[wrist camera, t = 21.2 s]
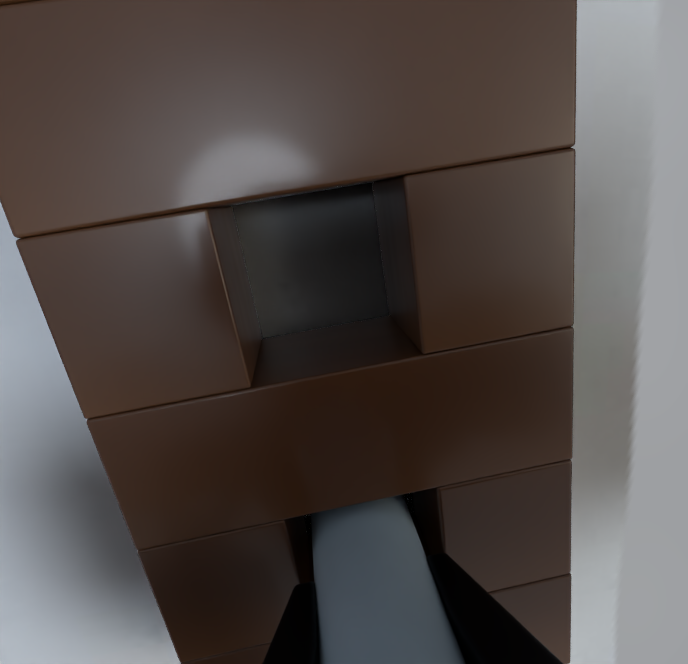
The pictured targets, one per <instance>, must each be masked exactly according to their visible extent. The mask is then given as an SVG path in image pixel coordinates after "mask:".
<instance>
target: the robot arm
mask: <svg viewBox="0 0 688 664" xmlns="http://www.w3.org/2000/svg"><path fill="white" fill-rule="evenodd" d="M427 561H428V564H429V567H430V570H431V572H432V575H433V578H434V580H435V583H436V586H437V588H438V591H439V594H440V596H441V599H442V602H443V604H444V607H445V610H446V612H447V615H448V618H449V620H450V623H451V625H452V628H453V631H454V633H455V636H456V638H457V641H458V643H459V646H460V649H461V651H462V654H463V657H464V659H465V662H466V664H563V663H562V662H561V661H560V660H559V659H558V658H557V657H556V656H555V655H554V654H553V653H552V652H551V651H550V650H549V649H548V648H546V647H545V646H544V645H543V644H542V643H541V642H540V641H539V640H538V639H537V638H536V637H535V636H534V635H533V634H532V633H531V632H529V631H528V630H527V629H526V628H525V627H524V626H523V625H522V624H521V623H520V622H519V621H518V620H517V619H516V618H515V617H514V616H513V615H511V614H510V613H509V612H508V611H507V610H506V609H505V608H504V607H503V606H502V605H501V604H500V603H499V602H498V601H497V600H496V599H494V598H493V597H492V596H491V595H490V594H489V593H488V592H487V591H486V590H485V589H484V588H483V587H482V586H481V585H480V584H479V583H477V582H476V581H475V580H474V579H473V578H472V577H471V576H470V575H469V574H468V573H467V572H466V571H465V570H464V569H463V568H462V567H460V566H459V565H458V564H457V563H456V562H455V561H454V560H453V559H452V558H451V557H450V556H449V555H448V554H446V553H444V552H442V553H437V554H433V555H429V556H428V557H427ZM262 664H319V641H318V624H317V606H316V589H315V583H314V582H313V581H310V582H306V583H301V584H297V585H296V586H295V587H294V589H293V591H292V593H291V596H290V598H289V600H288V603H287V605H286V608H285V610H284V612H283V615H282V617H281V620H280V622H279V625H278V627H277V629H276V632H275V634H274V637H273V639H272V641H271V644H270V646H269V649H268V651H267V653H266V656H265V658H264V661H263V663H262Z"/></svg>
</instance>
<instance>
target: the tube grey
mask: <svg viewBox="0 0 688 664" xmlns="http://www.w3.org/2000/svg"><path fill="white" fill-rule="evenodd" d="M311 531H312V549H313V566H314V583H315V589H316V606H317V624H318V641H319V664H466V662H465V659H464V657H463V654H462V651H461V649H460V646H459V643H458V641H457V638H456V636H455V633H454V631H453V628H452V625H451V623H450V620H449V618H448V615H447V612H446V610H445V607H444V604H443V602H442V599H441V596H440V594H439V591H438V588H437V586H436V583H435V580H434V578H433V575H432V572H431V570H430V567H429V564H428V561H427V558H426V555H425V552H424V550H423V547H422V544H421V542H420V539H419V536H418V534H417V531H416V528H415V526H414V523H413V520H412V518H411V515H410V512H409V510H408V507H407V504H406V502H405V499H404V496H403V495H398V496H393V497H388V498H384V499H379V500H374V501H369V502H365V503H360V504H355V505H350V506H346V507H341V508H336V509H331V510H327V511H322V512H317V513H312V514H311Z"/></svg>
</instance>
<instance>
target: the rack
mask: <svg viewBox="0 0 688 664" xmlns="http://www.w3.org/2000/svg"><path fill="white" fill-rule="evenodd" d="M576 21H577V0H0V202H1V204H2V207H3V210H4V212H5V215H6V217H7V220H8V222H9V225H10V227H11V230H12V233H13V235H14V236H15V237H16V238H21V239H18V240H17V241H16V244H17V247H18V249H19V252H20V255H21V257H22V260H23V262H24V265H25V267H26V270H27V272H28V275H29V278H30V280H31V283H32V285H33V288H34V290H35V293H36V295H37V298H38V301H39V303H40V306H41V308H42V311H43V313H44V316H45V318H46V321H47V324H48V326H49V329H50V331H51V334H52V336H53V339H54V341H55V344H56V347H57V349H58V352H59V354H60V357H61V359H62V362H63V364H64V367H65V370H66V372H67V375H68V377H69V380H70V382H71V385H72V387H73V390H74V392H75V395H76V398H77V400H78V403H79V405H80V408H81V410H82V413H83V415H84V418H85V419H87V425H88V428H89V430H90V433H91V436H92V438H93V441H94V443H95V446H96V448H97V451H98V453H99V456H100V459H101V461H102V464H103V466H104V469H105V471H106V474H107V476H108V479H109V481H110V484H111V487H112V489H113V492H114V494H115V497H116V499H117V502H118V504H119V507H120V510H121V512H122V515H123V517H124V520H125V522H126V525H127V527H128V530H129V533H130V535H131V538H132V540H133V543H134V545H135V548H136V549H137V550H138V556H139V558H140V561H141V563H142V566H143V569H144V571H145V574H146V576H147V579H148V581H149V584H150V586H151V589H152V592H153V594H154V597H155V599H156V602H157V604H158V607H159V609H160V612H161V615H162V617H163V620H164V622H165V625H166V627H167V630H168V632H169V635H170V637H171V640H172V643H173V645H174V648H175V650H176V653H177V655H178V658H179V660H180V662H181V664H262V663H263V661H264V658H265V656H266V653H267V651H268V649H269V646H270V644H271V641H272V639H273V637H274V634H275V632H276V629H277V627H278V625H279V622H280V620H281V617H282V615H283V612H284V610H285V608H286V605H287V603H288V600H289V598H290V596H291V593H292V591H293V589H294V587H295V586H296V585H297V584H301V583H306V582H310V581H313V582H314V566H313V549H312V536H308V534H307V529H306V525H305V521H304V516H303V515H308V514H312V513H317V512H322V511H327V510H331V509H336V508H341V507H346V506H350V505H355V504H360V503H365V502H369V501H374V500H379V499H384V498H388V497H393V496H398V495H403V494H407V493H412V496H413V503H414V511H415V513H414V514H410V515H411V518H412V520H413V523H414V526H415V528H416V531H417V534H418V536H419V539H420V542H421V544H422V547H423V550H424V552H425V555H426V558H427V557H428V556H429V555H433V554H437V553H442V552H444V553H446V554H448V555H449V556H450V557H451V558H452V559H453V560H454V561H455V562H456V563H457V564H458V565H459V566H460V567H462V568H463V569H464V570H465V571H466V572H467V573H468V574H469V575H470V576H471V577H472V578H473V579H474V580H475V581H476V582H477V583H479V584H480V585H481V586H482V587H483V588H484V589H485V590H486V591H487V592H488V593H489V594H490V595H491V596H492V597H493V598H494V599H496V600H497V601H498V602H499V603H500V604H501V605H502V606H503V607H504V608H505V609H506V610H507V611H508V612H509V613H510V614H511V615H513V616H514V617H515V618H516V619H517V620H518V621H519V622H520V623H521V624H522V625H523V626H524V627H525V628H526V629H527V630H528V631H529V632H531V633H532V634H533V635H534V636H535V637H536V638H537V639H538V640H539V641H540V642H541V643H542V644H543V645H544V646H545V647H546V648H548V649H549V650H550V651H551V652H552V653H553V654H554V655H555V656H556V657H557V658H558V659H559V660H560V661H561V662H562V663H563V664H568V663H570V637H571V574H570V571H571V477H572V462H571V460H570V459H571V458H572V431H573V338H574V329H573V327H572V325H573V323H574V230H575V149H573V148H571V147H572V146H574V144H575V116H576ZM371 182H374V183H373V184H372V188H373V196H374V203H375V211H376V219H377V227H378V234H379V242H380V250H381V257H382V265H383V273H384V281H385V288H386V296H387V304H388V311H389V314H390V315H389V316H383V317H378V318H372V319H367V320H362V321H356V322H351V323H345V324H340V325H334V326H329V327H324V328H318V329H313V330H307V331H302V332H297V333H291V334H286V335H280V336H275V337H270V338H264V339H262V333H261V329H260V325H259V320H258V316H257V312H256V307H255V303H254V299H253V294H252V290H251V286H250V281H249V277H248V273H247V268H246V264H245V259H244V255H243V251H242V246H241V242H240V238H239V233H238V229H237V225H236V220H235V216H234V212H233V208H232V206H231V205H237V204H244V203H250V202H256V201H262V200H268V199H274V198H280V197H286V196H292V195H298V194H304V193H310V192H316V191H322V190H328V189H334V188H340V187H346V186H352V185H358V184H364V183H371Z"/></svg>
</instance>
